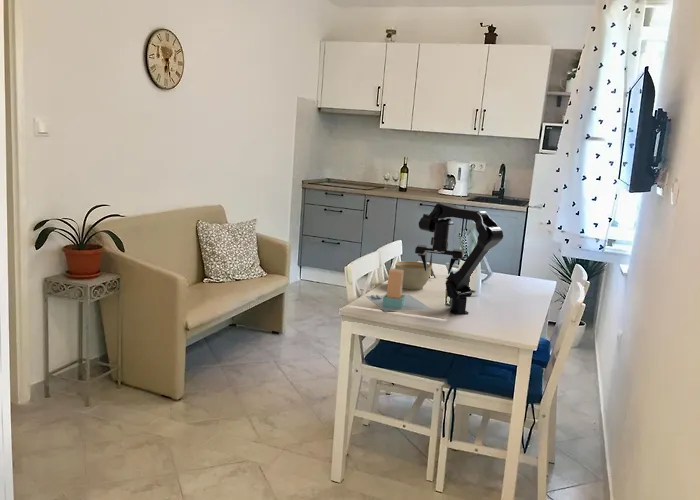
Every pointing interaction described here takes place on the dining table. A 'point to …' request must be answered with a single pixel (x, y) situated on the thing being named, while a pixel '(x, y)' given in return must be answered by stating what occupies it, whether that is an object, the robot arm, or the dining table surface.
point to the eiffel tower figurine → (431, 265)
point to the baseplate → (406, 307)
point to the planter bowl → (414, 274)
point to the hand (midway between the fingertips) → (437, 272)
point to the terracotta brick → (395, 283)
